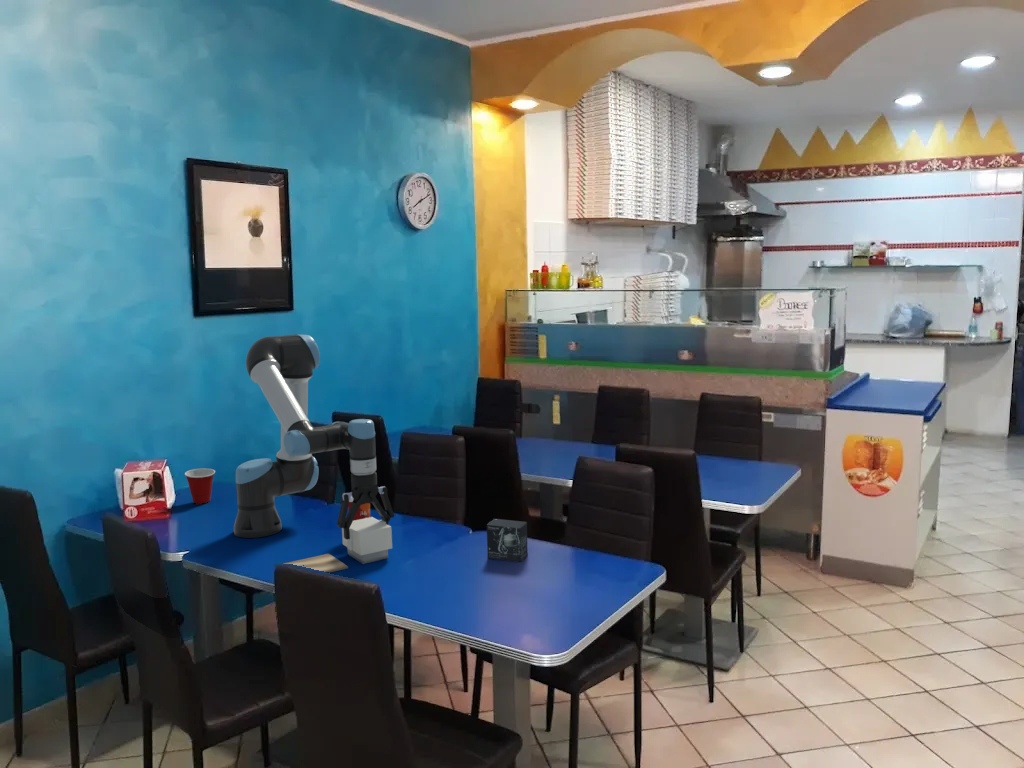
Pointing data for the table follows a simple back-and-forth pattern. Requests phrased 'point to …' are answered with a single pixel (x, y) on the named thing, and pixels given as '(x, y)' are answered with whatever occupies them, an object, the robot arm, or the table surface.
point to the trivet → (321, 563)
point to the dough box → (369, 556)
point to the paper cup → (361, 510)
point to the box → (507, 540)
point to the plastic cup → (200, 484)
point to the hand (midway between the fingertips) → (367, 545)
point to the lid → (370, 536)
